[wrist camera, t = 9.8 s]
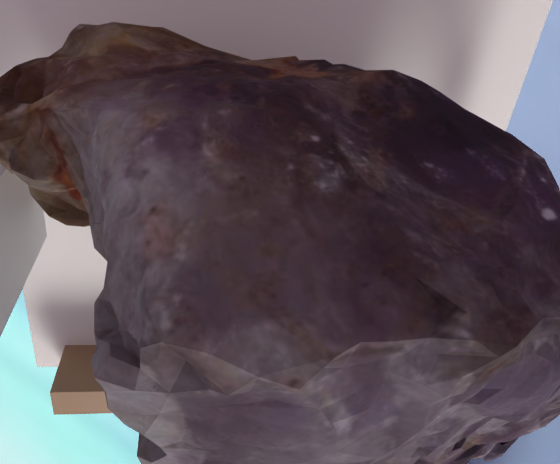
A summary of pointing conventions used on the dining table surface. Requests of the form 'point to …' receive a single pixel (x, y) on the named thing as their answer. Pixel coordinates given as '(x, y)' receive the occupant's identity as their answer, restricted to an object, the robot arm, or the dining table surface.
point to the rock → (295, 252)
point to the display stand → (255, 46)
